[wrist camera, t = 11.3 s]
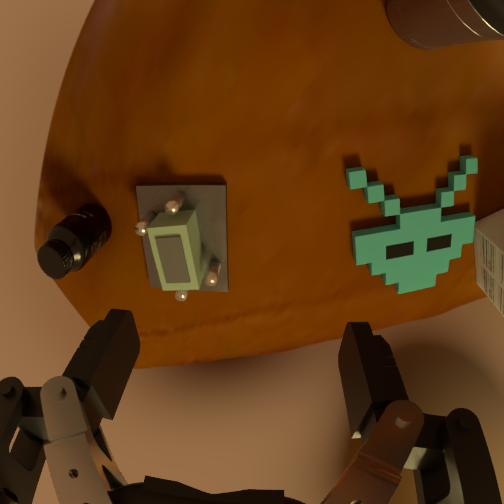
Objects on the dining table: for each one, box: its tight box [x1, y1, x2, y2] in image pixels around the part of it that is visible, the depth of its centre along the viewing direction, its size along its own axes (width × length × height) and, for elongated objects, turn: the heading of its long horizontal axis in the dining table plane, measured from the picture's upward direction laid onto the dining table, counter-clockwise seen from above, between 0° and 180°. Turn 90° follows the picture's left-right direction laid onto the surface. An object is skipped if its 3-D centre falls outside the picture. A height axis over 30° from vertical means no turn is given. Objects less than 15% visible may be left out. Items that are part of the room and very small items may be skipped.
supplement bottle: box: [37, 204, 112, 279], centre depth 37 cm, size 7×7×12 cm
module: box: [147, 210, 206, 291], centre depth 40 cm, size 9×5×5 cm, turn 5°
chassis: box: [135, 183, 229, 301], centre depth 41 cm, size 16×12×5 cm
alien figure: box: [345, 155, 478, 294], centre depth 40 cm, size 20×2×20 cm
